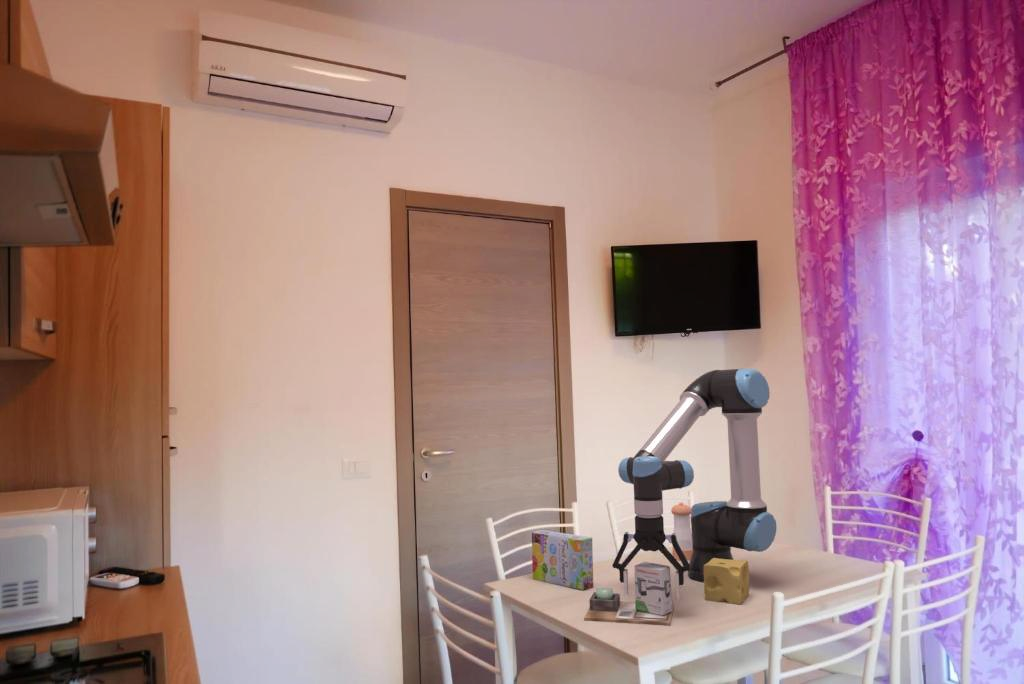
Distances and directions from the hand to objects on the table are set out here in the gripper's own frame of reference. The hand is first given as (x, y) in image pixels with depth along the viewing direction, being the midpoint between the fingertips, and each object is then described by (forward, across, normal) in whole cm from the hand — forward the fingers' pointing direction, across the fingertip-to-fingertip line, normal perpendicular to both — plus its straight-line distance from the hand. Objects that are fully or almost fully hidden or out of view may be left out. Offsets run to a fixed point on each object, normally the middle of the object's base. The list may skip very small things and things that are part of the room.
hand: (652, 596), depth 191 cm
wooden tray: (+5, +6, 0) cm, 8 cm away
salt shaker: (+5, -5, -64) cm, 64 cm away
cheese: (+5, -19, -19) cm, 27 cm away
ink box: (+4, 0, 0) cm, 4 cm away
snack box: (+5, +30, -26) cm, 40 cm away
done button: (+2, +13, -2) cm, 13 cm away
